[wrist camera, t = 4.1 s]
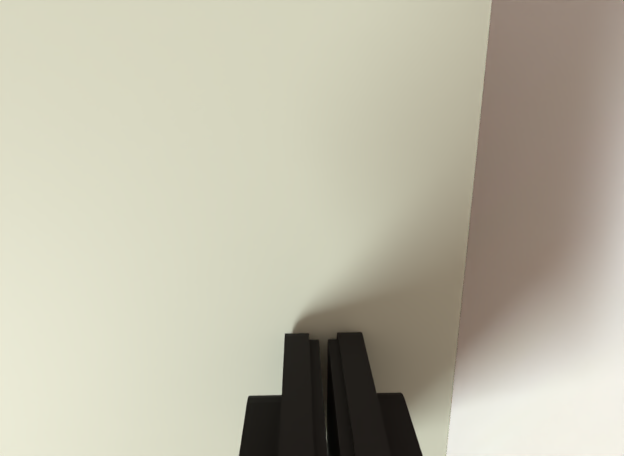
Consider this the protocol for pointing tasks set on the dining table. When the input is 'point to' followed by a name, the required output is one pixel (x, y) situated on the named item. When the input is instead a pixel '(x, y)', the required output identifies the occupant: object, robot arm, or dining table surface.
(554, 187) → the dining table surface
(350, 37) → the lid
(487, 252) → the dining table surface
